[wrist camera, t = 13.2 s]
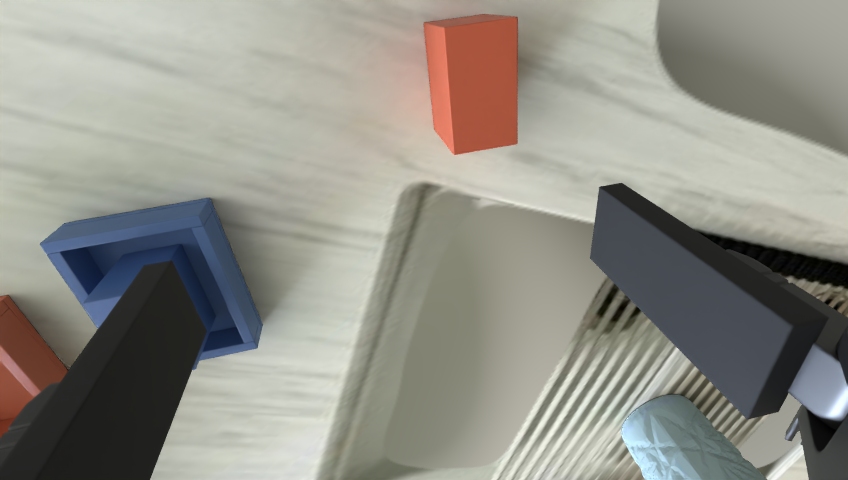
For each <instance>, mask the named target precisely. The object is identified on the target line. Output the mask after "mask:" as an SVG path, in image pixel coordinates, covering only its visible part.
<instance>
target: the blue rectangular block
mask: <svg viewBox="0 0 848 480" xmlns="http://www.w3.org/2000/svg"><path fill="white" fill-rule="evenodd" d="M171 260H172V261H173V263H174V265H175V267H176V269H177V271H178V273H179V276H180V278H181V280H182V282H183V284H184V286H185V288H186V290H187V292H188V294H189V296H190V298H191V300H192V302H193V304H194V306H195V308H196V310H197V312H198V314H199V316H200V318H201V320H202V322H203V324H204V326H205V328H206V330H207V333H206V335H205V338H204V340H203V343H202V346H201V348H200V351H199V353H198V356H197V359H196V361H195V364H194V366H193V369H192V370H195V369H196V368H197V365H198V362H199V360H200V357H201V354H202V352H203V349H204V346H205V344H206V341H207V338H208V336H209V333H210V331H211V328H212V325H213V323H214V320H215V317H216V315H215V313H214V311H213V309H212V307H211V305H210V302H209V300H208V298H207V296H206V294H205V292H204V290H203V288H202V286H201V284H200V282H199V280H198V278H197V276H196V274H195V272H194V269H193V267H192V265H191V263H190V261H189V259H188V257H187V255H186V253H185V251H184V249H183V247H182V245H181V244H177V245H172V246H166V247H161V248H155V249H150V250H145V251H139V252H134V253H128V254H124V255H122V256H121V258H120V259H119V260H118V261H117V262H116V264H115V265H114V266H113V267H112V268H111V270H110V271H109V272H108V273H107V274H106V276H105V277H104V278H103V279H102V280H101V282H100V283H99V284H98V285H97V286H96V287H95V289H94V290H93V291H92V292H91V293H90V295H89V296H88V297H87V298H86V299H85V301H84V302H83V303H82V305H83V307H84V308H85V310H86V311H87V313H88V314H89V315H90V317H91V318H92V320H93V321H94V323H95V324H96V326H97V327H98V329H99V327H100V326H101V324H102V323H103V322H104V320H105V319H106V317H107V316H108V315H109V313H110V312H111V310H112V309H113V308H114V306H115V305H116V303H117V302H118V301H119V299H120V298H121V296H122V295H123V294H124V292H125V291H126V289H127V288H128V287H129V285H130V284H131V282H132V281H133V280H134V278H135V277H136V275H137V274H138V273H139V271H140V270H141V268H142V267H143V266H144V265H147V264H153V263H159V262H165V261H171Z"/></svg>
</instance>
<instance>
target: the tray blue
mask: <svg viewBox="0 0 848 480" xmlns="http://www.w3.org/2000/svg"><path fill="white" fill-rule="evenodd" d="M177 244H181V245H182V247H183V249H184V251H185V253H186V255H187V257H188V259H189V261H190V263H191V265H192V267H193V269H194V272H195V274H196V276H197V278H198V280H199V282H200V284H201V286H202V288H203V290H204V292H205V294H206V296H207V298H208V300H209V302H210V305H211V307H212V309H213V311H214V313H215V315H216V317H215V320H214V323H213V325H212V328H211V331H210V333H209V336H208V338H207V341H206V344H205V346H204V349H203V352H202V354H201V357H200V360H205V359H209V358H214V357H219V356H224V355H228V354H233V353H238V352H242V351H247V350H252V349H256V348H258V343H259V339H260V334H261V330H262V326H263V324H262V322H261V319H260V317H259V314H258V312H257V310H256V307H255V305H254V302H253V300H252V298H251V295H250V293H249V290H248V288H247V286H246V283H245V281H244V278H243V276H242V274H241V271H240V269H239V266H238V264H237V262H236V259H235V257H234V254H233V252H232V249H231V247H230V245H229V242H228V240H227V237H226V235H225V233H224V230H223V228H222V225H221V223H220V221H219V218H218V216H217V213H216V211H215V209H214V206H213V204H212V201H211V199H210V198H206V199H200V200H194V201H189V202H183V203H177V204H172V205H166V206H160V207H154V208H149V209H143V210H137V211H131V212H126V213H120V214H114V215H109V216H103V217H97V218H91V219H86V220H80V221H74V222H69V223H64V224H63V225H62V226H61V227H59V228H58V229H57V230H56V231H55V232H53V233H52V234H51V235H50V236H48V237H47V238H46V239H45V240H44V241H42V242H41V243H40V245H41V247H42V248H43V250H44V251H45V253H46V254H47V256H48V257H49V259H50V260H51V262H52V263H53V265H54V266H55V267H56V269H57V270H58V272H59V273H60V275H61V276H62V278H63V279H64V280H65V282H66V283H67V285H68V286H69V288H70V289H71V291H72V292H73V293H74V295H75V296H76V298H77V299H78V301H79V302H80V304H81V305H82V303H83V302H84V301H85V299H86V298H87V297H88V296H89V295H90V293H91V292H92V291H93V290H94V289H95V287H96V286H97V285H98V284H99V283H100V282H101V280H102V279H103V278H104V277H105V276H106V274H107V273H108V272H109V271H110V270H111V268H112V267H113V266H114V265H115V264H116V262H117V261H118V260H119V259H120V258H121V256H122V255H124V254H128V253H134V252H139V251H145V250H150V249H155V248H161V247H166V246H172V245H177ZM82 307H83V305H82ZM83 308H84V307H83ZM84 309H85V308H84ZM85 311H86V310H85ZM86 312H87V311H86ZM87 314H88V313H87ZM88 315H89V314H88ZM89 317H90V315H89ZM90 318H91V317H90ZM91 320H92V318H91ZM92 321H93V320H92ZM93 322H94V321H93ZM94 324H95V323H94ZM95 325H96V324H95ZM96 327H97V326H96ZM97 328H98V327H97ZM200 360H199V361H200Z"/></svg>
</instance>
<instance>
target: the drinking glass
mask: <svg viewBox="0 0 848 480" xmlns="http://www.w3.org/2000/svg"><path fill="white" fill-rule="evenodd" d="M621 434H622V437H623V440H624V442H625V444H626V446H627V447H628V449H629V451H630V453H631V455H632V457H633V458H634V460H635V461H636V463H637V464H638V465H639V466H640V468H641V470H642V475H643V476H644V478H645V480H767V479H766V478H765V477H764V476H763V475H762V474H761V473H760V472H759V471H758V470H757V469H756V468H755V467H754V466H753V465H752V464H751V463H750V462H749V461H747V460H745V459H744V458H743V457H742V455H741V453H740V452H739V450H738V449H737V448H736V447H735V446H734V445H733V444H732V443H731V442H730V441H729V440H728V439H727V438H726V437H725V436H724V435H723V434H722V433H721V432H719V431H716V430H715V428H714V427H713V426H712V423H711V422H710V421H709V420H708V419H707V418H706V417H705V416H704V415H703V414H702V412H701V411H700V410H699V409H698V408H697V407H696V406H695V405H694V404H693V403H692V402H691V401H690V400H689V399H687V398H686V397H684V396H681V395H665V396H661V397H658V398H655V399H653V400H650V401H648V402H646V403H645V404H643V405H641V406H640V407H639V408H637V409H636V410H635V411H634V412H633V413H631V414H630V415H629V417H628V418H627V419H626V421H625V422H624V424H623V427H622V431H621Z"/></svg>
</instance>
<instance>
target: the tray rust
mask: <svg viewBox="0 0 848 480" xmlns="http://www.w3.org/2000/svg"><path fill="white" fill-rule="evenodd" d="M67 372H68V370H67V369H66V368H65V366H64V365H63V364H62V363H61V361H60V360H59V359H58V358H57V356H56V355H55V354H54V353H53V351H52V350H51V349H50V347H49V346H48V345H47V344H46V342H45V341H44V340H43V339H42V337H41V336H40V335H39V334H38V332H37V331H36V330H35V329H34V327H33V326H32V325H31V324H30V322H29V321H28V320H27V319H26V317H25V316H24V315H23V314H22V312H21V311H20V310H19V308H18V307H17V306H16V305H15V303H14V302H13V301H12V300H11V298H10V297H9V296H8V295H5V296H0V438H1V437H2V435H3V434H4V433H5V432H8V431H9V429H8V427H9V426H10V425H11V423H12V422H13V421H14V419H15V418H16V417H17V416H18V414H19V413H20V412H21V410H22V409H23V408H24V406H25V405H26V404H27V403H28V402H30V401H31V400H32V399H33V398H34V397H35V396H37V395H38V394H39V393H40V392H41V391H42V390H44V389H45V388H46V387H47V386H48V385H49V384H52V383H57V382H61V380H62V379H63V378H64V376H65V375H66V373H67Z"/></svg>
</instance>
